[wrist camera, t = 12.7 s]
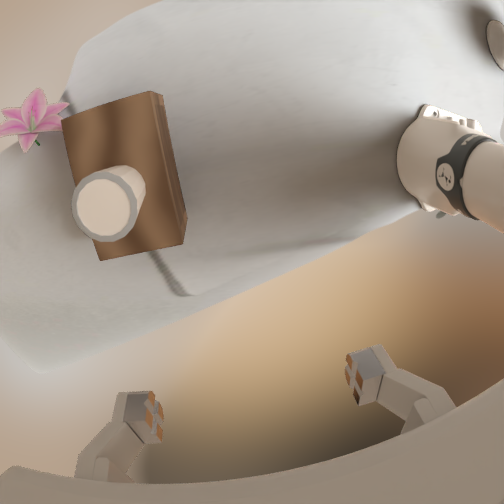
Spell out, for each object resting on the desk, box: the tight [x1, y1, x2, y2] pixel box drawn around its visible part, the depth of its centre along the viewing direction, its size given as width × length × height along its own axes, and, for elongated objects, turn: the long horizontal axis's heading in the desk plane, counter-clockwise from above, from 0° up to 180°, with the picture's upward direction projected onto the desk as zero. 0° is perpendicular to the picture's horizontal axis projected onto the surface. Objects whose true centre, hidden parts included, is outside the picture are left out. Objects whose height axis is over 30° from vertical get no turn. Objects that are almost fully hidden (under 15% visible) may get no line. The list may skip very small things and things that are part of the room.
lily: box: [0, 88, 70, 153], centre depth 31 cm, size 12×12×10 cm
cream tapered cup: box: [71, 165, 146, 242], centre depth 28 cm, size 7×7×7 cm
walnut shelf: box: [61, 91, 188, 261], centre depth 35 cm, size 11×18×9 cm, turn 8°
